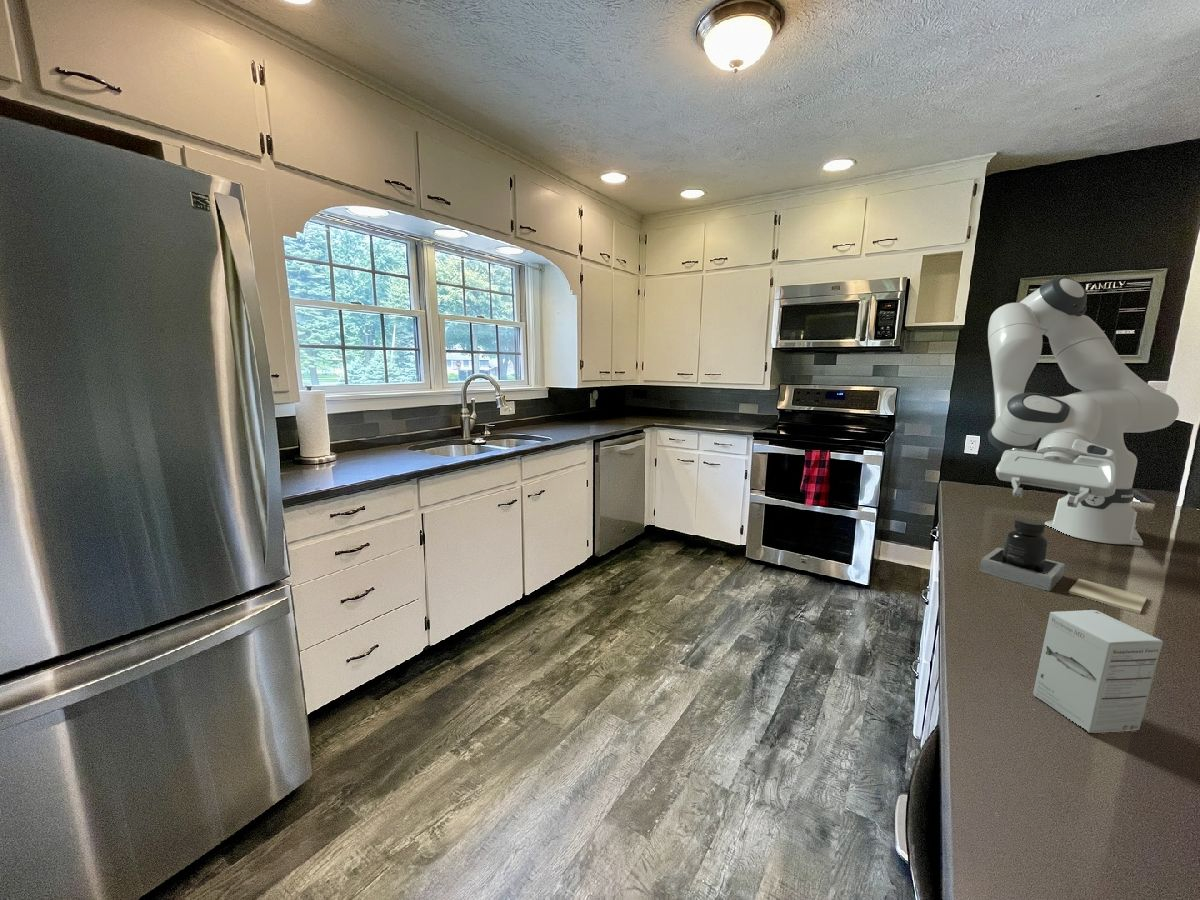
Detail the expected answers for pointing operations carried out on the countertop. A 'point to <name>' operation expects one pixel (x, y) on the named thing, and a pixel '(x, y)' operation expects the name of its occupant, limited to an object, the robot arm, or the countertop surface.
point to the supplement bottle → (1026, 545)
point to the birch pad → (1109, 595)
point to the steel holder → (1022, 571)
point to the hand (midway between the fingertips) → (1043, 500)
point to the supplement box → (1096, 670)
